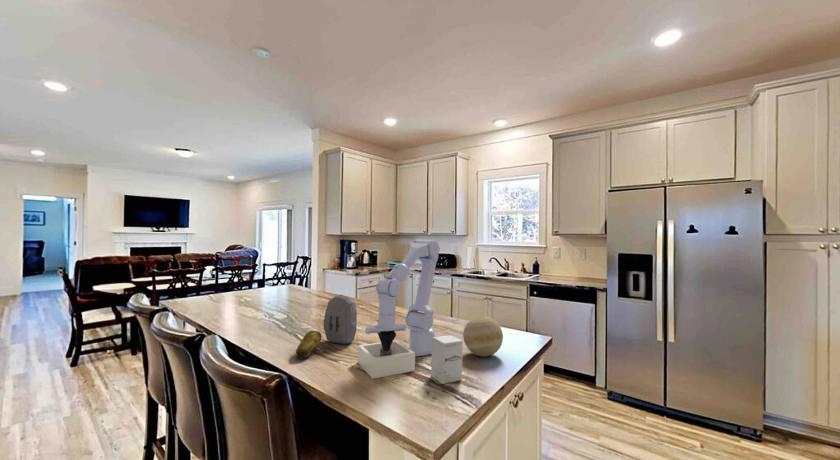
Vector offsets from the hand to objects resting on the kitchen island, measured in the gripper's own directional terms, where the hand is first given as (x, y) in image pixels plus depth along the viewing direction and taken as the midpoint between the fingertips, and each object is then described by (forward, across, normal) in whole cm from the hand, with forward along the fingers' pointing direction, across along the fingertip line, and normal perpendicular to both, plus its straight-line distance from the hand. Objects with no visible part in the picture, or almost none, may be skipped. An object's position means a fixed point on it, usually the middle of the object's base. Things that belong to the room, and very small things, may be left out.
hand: (385, 353), depth 117 cm
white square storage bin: (+5, 0, 0) cm, 5 cm away
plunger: (+4, 0, 0) cm, 4 cm away
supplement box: (+5, -14, +17) cm, 23 cm away
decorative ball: (+4, -38, +5) cm, 39 cm away
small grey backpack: (+5, +8, -32) cm, 33 cm away
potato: (+5, +22, -23) cm, 32 cm away
